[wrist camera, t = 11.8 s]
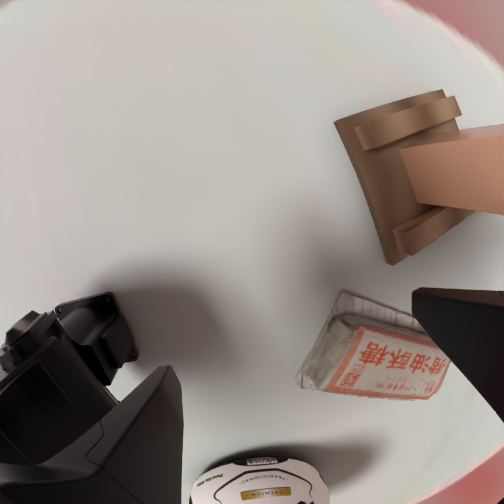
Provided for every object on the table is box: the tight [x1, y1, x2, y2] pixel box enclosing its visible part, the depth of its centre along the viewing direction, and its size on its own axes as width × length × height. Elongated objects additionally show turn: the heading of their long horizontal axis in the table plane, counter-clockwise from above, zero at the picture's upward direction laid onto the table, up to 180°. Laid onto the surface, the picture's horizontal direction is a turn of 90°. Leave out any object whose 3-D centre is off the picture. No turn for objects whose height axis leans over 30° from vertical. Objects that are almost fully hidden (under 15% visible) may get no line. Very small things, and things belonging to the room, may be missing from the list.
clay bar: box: [399, 124, 504, 215], centre depth 14 cm, size 5×5×13 cm
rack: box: [334, 89, 475, 266], centre depth 20 cm, size 14×13×3 cm
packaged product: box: [295, 291, 451, 401], centre depth 24 cm, size 18×5×10 cm
